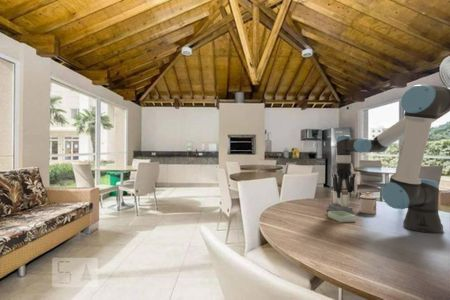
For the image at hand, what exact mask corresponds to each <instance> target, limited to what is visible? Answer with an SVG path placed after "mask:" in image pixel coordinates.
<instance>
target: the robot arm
mask: <svg viewBox="0 0 450 300" xmlns="http://www.w3.org/2000/svg"><path fill="white" fill-rule="evenodd" d="M400 105H401V108H402V110H403V111H404V113H403V114H404V115H403V118H401V119H400V120H398V121H397V122H395V123H394V124H393V125H391V126H390V127H388V128H386V130H384V131H382V132H381V133H380V134H378V135H376V136H375V137H374V138H373V137H372V138H365V137H359V138H358V137H356V138H352V137H351V135H338V136H337V137H336V142H335V143H336V162H337V163H336V172H335V173H332V174H331V176H332V183H333V184H332V186H333V187H332V191H333V190H334V191H336V192H337V198H338V204H342V193H341V188H343V181H344V182H345V188H348V205H350V203H351V202H350V198H351V197H352V196H351V195H352V193H353V192H354V191H355V177H356V176H357V175H356V173H352V171H351V170H352V163H351V162H352V153H360V154H361V153H362V154H363V153H364V154H365V153H376V154H377V153H378V154H379V153H383V152H386V151H387V150H388V148H389V146H391V145H392V144H394V143H395V142H397V141H399V140H401V139H402V142H401V146H400V151H399V154H398V155H399V156H398V161H397V164H396V169H395V172H394V173H393V174H391V175H390V177H389V182H386V184H384V185H383V186H382V188H381V197H382V200H383V201H384V202H385V204H386V205H387V206H388V207H391V208H392V209H396V210H405V209H407V211H406V214H405V217H404V219H403V220H402V221H403V223H402V225H403V227H404V228H406V229H408V230H412V231H415V232H421V233H428V234H429V233H430V234H440V233H443V232H444V225H443V223H442V220H441V217H440V214H439V196H440V195H439V191H440V188H439V183H438V182H437V181H436V180H431V179H425V178H419V176H420V172H421V167H422V163H423V160H424V155H425V152H426V146H427V144H428V139H429V135H430V131H431V126H432V123H434V122H436V121H437V120H438V119H440V118H441V117H443V116H445V115H447V114H448V113H449V112H450V87H449V88H448V87H445V86H438V85H431V84H416V85H413V86H411V87H410V88H408V89H407V90H406V91H405V92H404V93H403V94H402V96H401V100H400Z"/></svg>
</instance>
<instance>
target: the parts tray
mask: <svg viewBox="0 0 450 300" xmlns="http://www.w3.org/2000/svg"><path fill="white" fill-rule="evenodd" d="M327 218H329V219H332V220H334V221H336V222H338V223H355V222H356V221H357V215H356V214H354V215H353V214H350V213H347V212H345V211H329V210H327Z"/></svg>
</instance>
